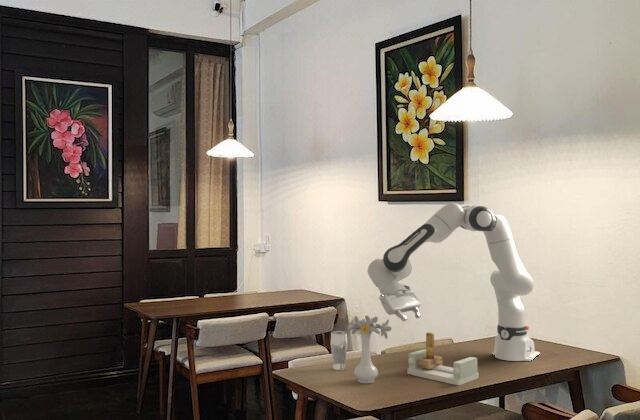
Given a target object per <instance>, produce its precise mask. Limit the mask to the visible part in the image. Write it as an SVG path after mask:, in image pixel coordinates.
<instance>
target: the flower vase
mask: <svg viewBox="0 0 640 420" xmlns="http://www.w3.org/2000/svg"><path fill="white" fill-rule="evenodd" d="M364 317H365V319H364V318H363V319H360V318H359V316H357V315H355V316H354V317H352V319H351V322H349V323H348V324H347V329H346V330H347V331H345V332H346V333H347V334H348V333H349V332H350V331H351V335H355V334H357V335H360V337H361V357H360V361H359V363H358V364H357V365H356V367H355V368H354V370H353V375H354V377H355V379H357V382H358V383H360V384H372V383H374V382H375V380H376V378H377V377H378V376H379V371H378V368H377V367H376V366H375V365H374V364H373V362H372V358H371V352H370V351H371V348H370V347H371V346H370V345H371V343H370V342H371V336H372V334H373V333H372V332H374V333H376V334H377V335H379V336H381V337H384V338H385V340H387V339H388V333H387V332H390V331H392V326H389V323H390V320H389V319H387V320H386V321H385V322H382V323H381V324H380V323H377V322H378V321H379V318H378V316H374V317H373V318H372V317H370V316H369V315H365V316H364ZM346 333H345V334H346Z"/></svg>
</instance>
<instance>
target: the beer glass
mask: <svg viewBox="0 0 640 420" xmlns="http://www.w3.org/2000/svg"><path fill="white" fill-rule="evenodd" d="M346 332H347V331H342V330H335V331H331V333H330V351H331V355H332V365H331V370H333V371H339V372H341V371H346V370H347V368H348V367H347V361H346V360H347V351H348V332H347V333H346ZM345 333H346V334H345Z"/></svg>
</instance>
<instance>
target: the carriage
mask: <svg viewBox="0 0 640 420" xmlns="http://www.w3.org/2000/svg"><path fill="white" fill-rule="evenodd" d="M425 334H426V335H425V349H426V357H424V358H420V359H418V367H421V368H426V369H430V368H433V367H436V366H439V365H442V366H443V362H444V361H443V360H444V359H443V356H439V355H435V333H434V332H426V333H425Z"/></svg>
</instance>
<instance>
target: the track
mask: <svg viewBox="0 0 640 420" xmlns="http://www.w3.org/2000/svg"><path fill="white" fill-rule="evenodd" d="M424 357H426V348H424V349H420V350H416V351H412V352H409V353H408V361H407V362H408V367H407V369H406V371H407V372H406V374H407V375H410V374H411V376H414V377H415V376H416V377H419V378H424V379H429V380H432V381H438V382H442V383H447V384H451V385H455V386H462V385H464V384H466V383H467V384H468V383H470V382H472V381H475V380H478V379H479V378H480V377H479V376H480V375H479V374H480V373H479V372H478V357H473V356H469V357H466V358H462V359H460V360H456V361H454V362H453V367H451V366H445V365H443V364H442V365H439V366H436V367H433V368H430V369H426V368H421V367H418V359H420V358H424Z"/></svg>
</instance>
